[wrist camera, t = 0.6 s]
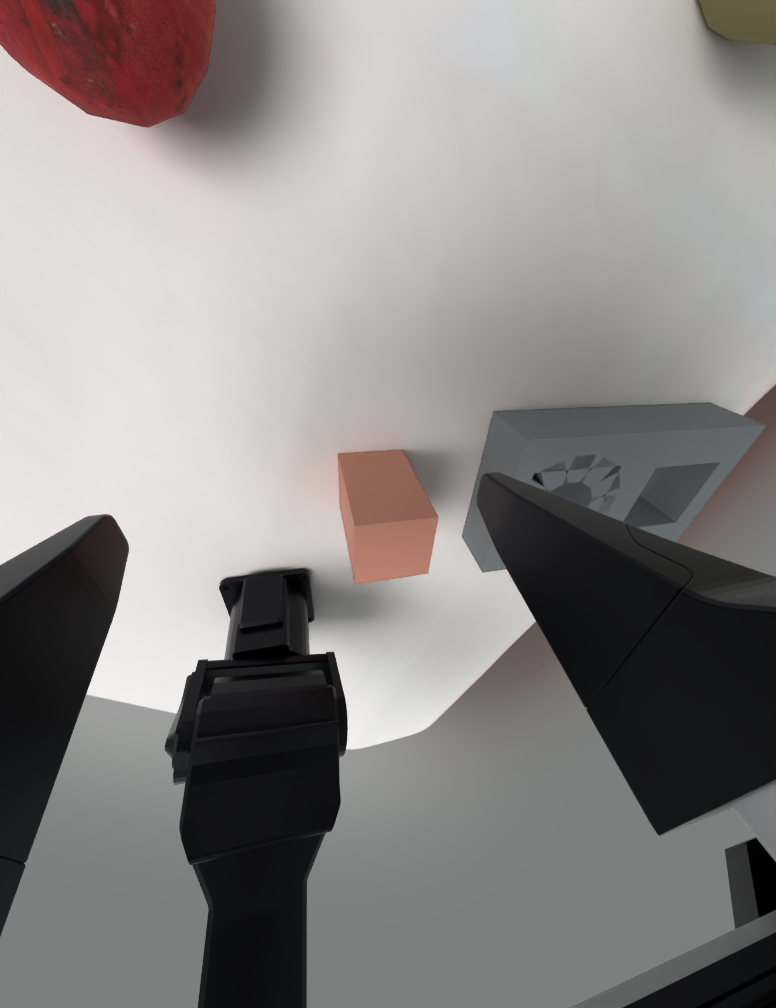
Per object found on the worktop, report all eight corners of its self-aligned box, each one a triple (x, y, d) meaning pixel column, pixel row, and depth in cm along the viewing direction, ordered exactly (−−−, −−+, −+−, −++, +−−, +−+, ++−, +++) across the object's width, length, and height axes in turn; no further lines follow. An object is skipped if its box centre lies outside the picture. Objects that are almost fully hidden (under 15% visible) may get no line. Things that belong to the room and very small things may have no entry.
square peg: (397, 500, 25) (427, 573, 20) (339, 506, 24) (355, 584, 19) (402, 449, 22) (438, 517, 17) (337, 453, 22) (354, 526, 16)
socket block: (637, 515, 33) (673, 544, 30) (461, 536, 29) (482, 572, 26) (710, 402, 26) (766, 425, 23) (493, 411, 22) (526, 439, 19)
